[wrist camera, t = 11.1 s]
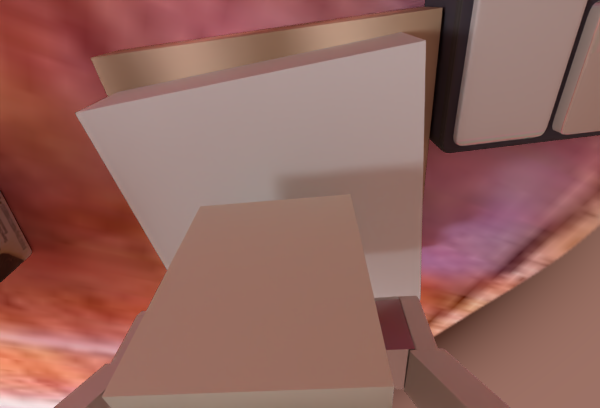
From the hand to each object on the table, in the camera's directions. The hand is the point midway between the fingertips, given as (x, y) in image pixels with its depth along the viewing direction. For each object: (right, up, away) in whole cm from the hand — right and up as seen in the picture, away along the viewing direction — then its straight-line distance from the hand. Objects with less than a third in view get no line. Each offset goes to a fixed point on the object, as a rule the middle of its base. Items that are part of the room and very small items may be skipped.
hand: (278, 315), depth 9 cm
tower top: (0, +4, +7) cm, 8 cm away
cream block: (0, +1, +2) cm, 3 cm away
